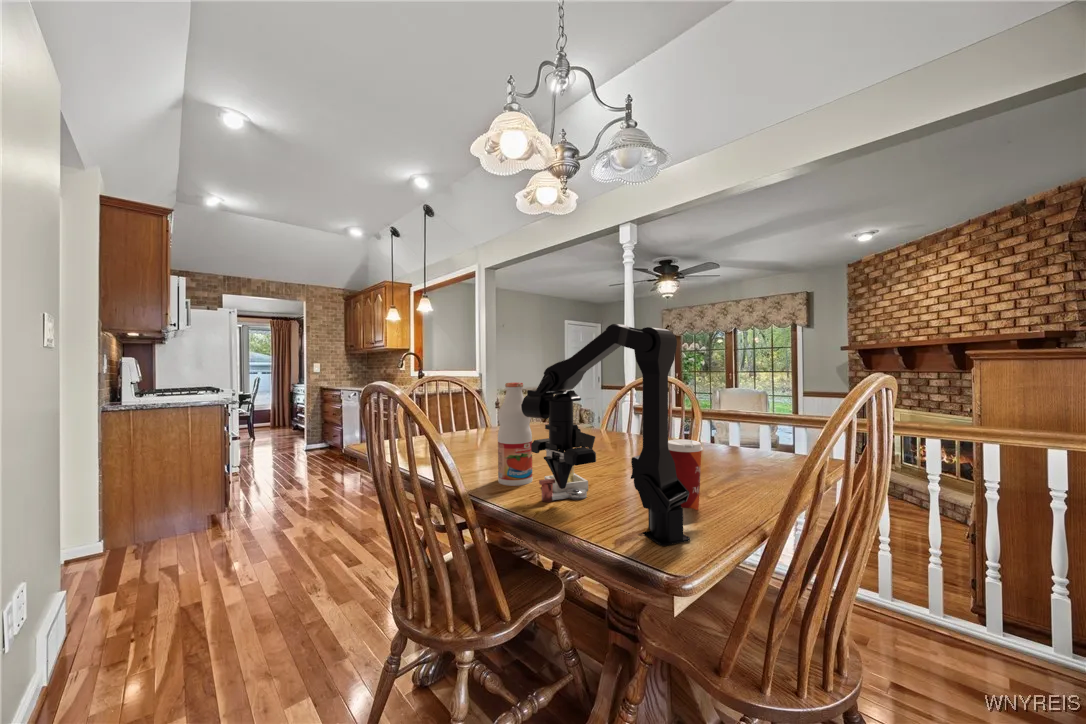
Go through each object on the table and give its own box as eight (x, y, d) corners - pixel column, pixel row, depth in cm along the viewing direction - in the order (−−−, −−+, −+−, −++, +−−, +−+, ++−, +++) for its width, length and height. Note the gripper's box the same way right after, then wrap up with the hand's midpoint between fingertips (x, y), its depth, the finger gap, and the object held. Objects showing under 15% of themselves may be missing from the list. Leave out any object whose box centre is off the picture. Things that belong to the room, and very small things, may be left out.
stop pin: (575, 486, 109) (577, 459, 109) (566, 488, 107) (567, 461, 107) (565, 482, 112) (567, 456, 112) (556, 485, 110) (557, 457, 109)
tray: (588, 490, 107) (588, 481, 107) (557, 495, 104) (556, 484, 104) (574, 482, 115) (574, 472, 115) (544, 485, 112) (544, 476, 112)
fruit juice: (517, 478, 124) (516, 381, 124) (539, 484, 117) (538, 382, 117) (491, 484, 117) (490, 383, 117) (512, 492, 110) (511, 384, 110)
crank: (580, 492, 106) (580, 472, 106) (590, 498, 101) (590, 477, 101) (536, 498, 101) (536, 478, 101) (544, 504, 97) (543, 483, 97)
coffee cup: (709, 514, 92) (708, 445, 92) (671, 514, 93) (670, 445, 93) (696, 501, 101) (695, 438, 101) (661, 502, 101) (660, 438, 101)
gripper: (614, 421, 94) (616, 492, 94) (567, 414, 110) (568, 474, 110) (573, 426, 89) (575, 501, 88) (529, 417, 105) (530, 481, 104)
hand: (562, 488), depth 98 cm, fingers closed
